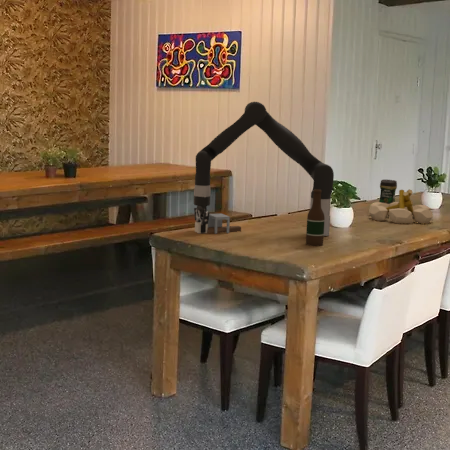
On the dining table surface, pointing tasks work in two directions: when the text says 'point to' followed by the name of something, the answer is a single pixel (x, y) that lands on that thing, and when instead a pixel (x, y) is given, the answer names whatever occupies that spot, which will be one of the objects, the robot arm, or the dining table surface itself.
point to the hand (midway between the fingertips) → (201, 231)
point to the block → (199, 227)
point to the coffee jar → (387, 191)
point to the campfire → (401, 210)
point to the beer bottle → (315, 221)
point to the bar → (224, 229)
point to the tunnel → (218, 221)
